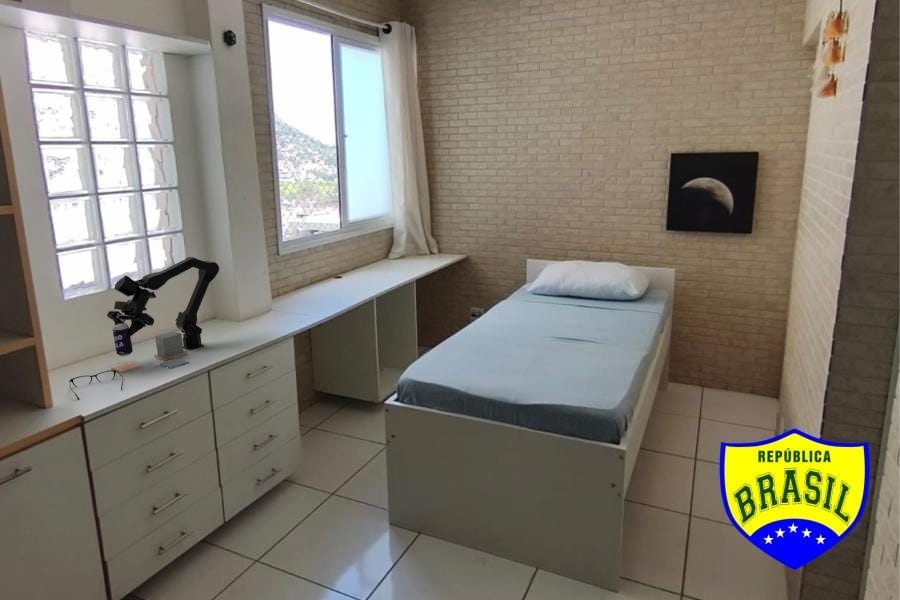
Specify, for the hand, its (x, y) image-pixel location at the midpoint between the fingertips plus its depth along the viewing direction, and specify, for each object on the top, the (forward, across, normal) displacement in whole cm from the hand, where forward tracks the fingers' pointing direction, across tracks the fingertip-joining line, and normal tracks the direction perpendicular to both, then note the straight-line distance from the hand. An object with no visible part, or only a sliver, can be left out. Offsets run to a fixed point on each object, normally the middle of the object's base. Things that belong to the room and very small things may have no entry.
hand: (121, 337), depth 236 cm
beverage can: (+5, 0, +6) cm, 8 cm away
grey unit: (-3, +6, +21) cm, 23 cm away
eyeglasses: (+24, +7, -5) cm, 25 cm away
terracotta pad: (+9, 0, +9) cm, 13 cm away
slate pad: (+3, +15, +16) cm, 22 cm away
